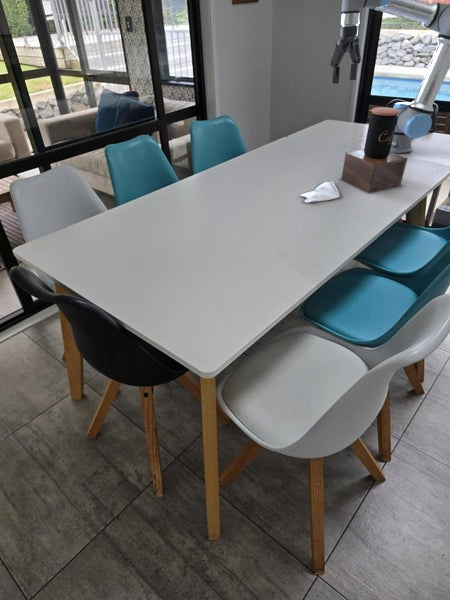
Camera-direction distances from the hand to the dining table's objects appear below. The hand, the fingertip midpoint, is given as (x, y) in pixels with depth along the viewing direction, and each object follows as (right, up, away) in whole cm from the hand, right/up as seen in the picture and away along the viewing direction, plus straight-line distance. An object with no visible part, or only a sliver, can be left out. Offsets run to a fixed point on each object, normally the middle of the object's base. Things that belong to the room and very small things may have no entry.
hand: (344, 81), depth 187 cm
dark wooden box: (+11, -47, -4) cm, 48 cm away
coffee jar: (+10, -38, -11) cm, 41 cm away
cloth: (-12, -55, -14) cm, 58 cm away
